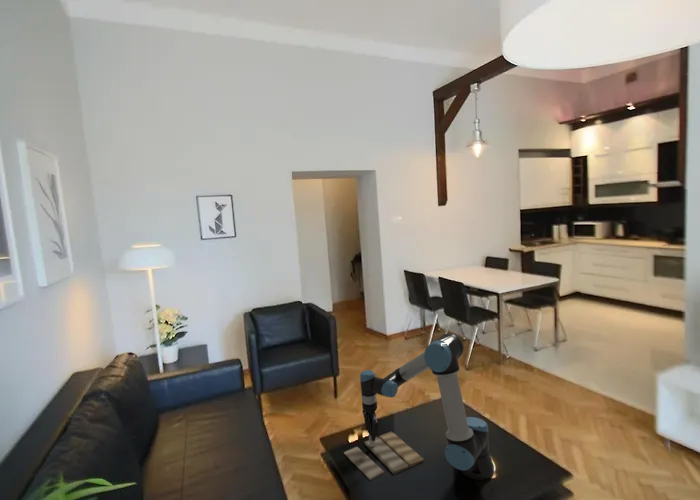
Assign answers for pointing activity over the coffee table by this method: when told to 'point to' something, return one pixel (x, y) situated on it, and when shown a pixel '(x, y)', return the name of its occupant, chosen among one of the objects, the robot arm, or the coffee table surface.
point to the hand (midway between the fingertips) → (372, 445)
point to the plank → (364, 463)
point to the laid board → (401, 449)
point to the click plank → (387, 456)
